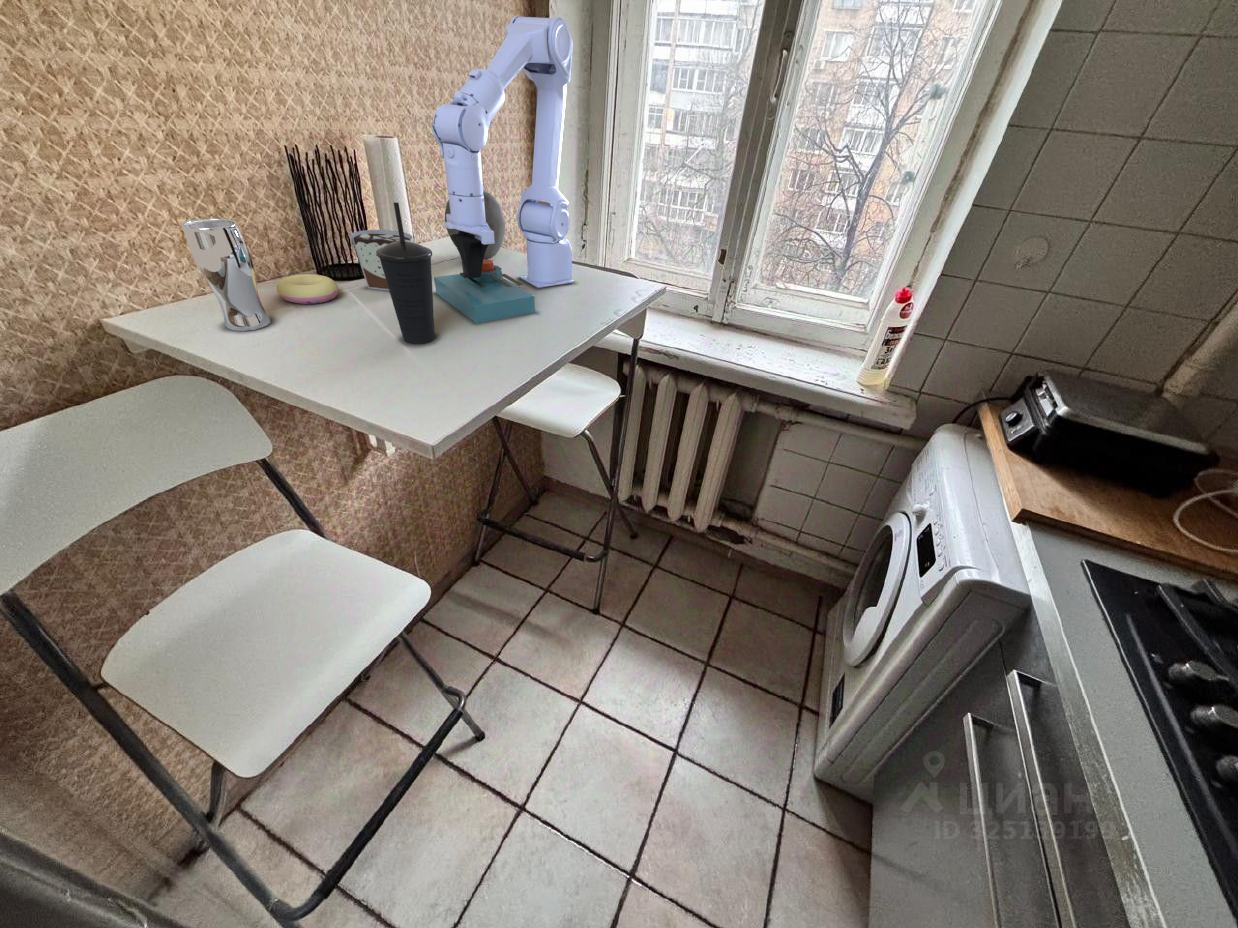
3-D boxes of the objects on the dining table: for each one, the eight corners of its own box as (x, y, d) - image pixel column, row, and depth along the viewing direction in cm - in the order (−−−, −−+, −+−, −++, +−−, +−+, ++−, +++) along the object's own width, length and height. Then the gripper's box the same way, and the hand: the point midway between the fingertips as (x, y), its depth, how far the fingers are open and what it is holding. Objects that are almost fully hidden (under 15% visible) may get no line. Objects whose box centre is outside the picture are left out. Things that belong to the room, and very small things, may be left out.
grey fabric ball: (519, 262, 120) (516, 193, 111) (467, 269, 111) (459, 196, 102) (489, 248, 127) (484, 183, 118) (438, 254, 119) (428, 185, 110)
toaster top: (496, 269, 97) (496, 269, 97) (523, 284, 91) (523, 284, 90) (453, 274, 92) (453, 274, 92) (479, 291, 86) (479, 291, 86)
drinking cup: (416, 353, 75) (390, 210, 64) (384, 339, 78) (353, 201, 66) (454, 338, 81) (436, 205, 69) (422, 326, 84) (400, 196, 72)
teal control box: (491, 285, 104) (489, 261, 101) (535, 312, 93) (534, 286, 90) (436, 293, 97) (432, 267, 94) (476, 323, 87) (473, 295, 84)
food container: (433, 285, 101) (426, 233, 95) (421, 294, 96) (412, 240, 90) (376, 278, 101) (365, 226, 95) (360, 287, 97) (348, 233, 91)
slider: (474, 273, 92) (472, 259, 91) (478, 276, 91) (477, 262, 89) (460, 275, 91) (458, 261, 89) (464, 278, 89) (463, 263, 88)
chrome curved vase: (284, 321, 81) (250, 223, 72) (245, 335, 76) (203, 231, 66) (251, 313, 82) (214, 216, 73) (211, 326, 77) (166, 223, 68)
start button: (489, 267, 99) (488, 258, 98) (497, 272, 97) (496, 262, 96) (474, 269, 97) (474, 260, 96) (482, 273, 95) (481, 264, 94)
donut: (311, 298, 96) (268, 305, 88) (303, 273, 94) (259, 278, 86) (352, 298, 93) (312, 306, 85) (345, 272, 91) (304, 277, 83)
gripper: (425, 186, 83) (436, 268, 91) (462, 202, 75) (471, 291, 83) (464, 186, 87) (471, 264, 95) (503, 201, 79) (508, 286, 87)
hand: (474, 277), depth 89 cm, fingers closed
